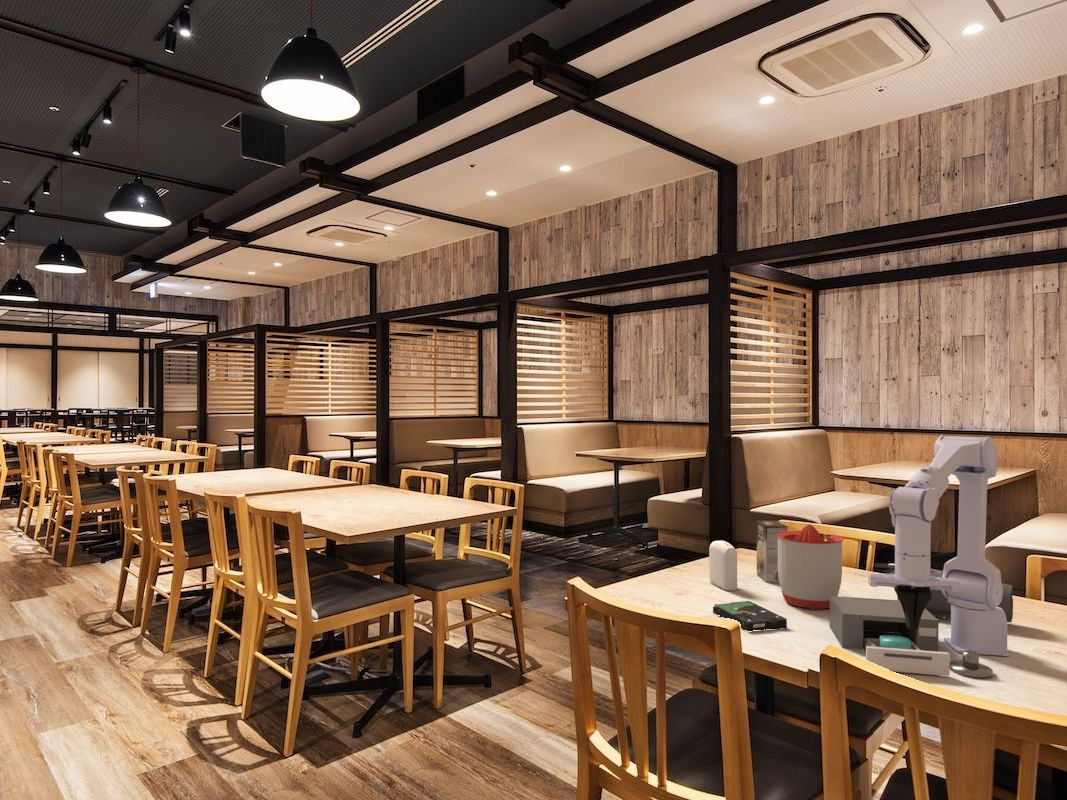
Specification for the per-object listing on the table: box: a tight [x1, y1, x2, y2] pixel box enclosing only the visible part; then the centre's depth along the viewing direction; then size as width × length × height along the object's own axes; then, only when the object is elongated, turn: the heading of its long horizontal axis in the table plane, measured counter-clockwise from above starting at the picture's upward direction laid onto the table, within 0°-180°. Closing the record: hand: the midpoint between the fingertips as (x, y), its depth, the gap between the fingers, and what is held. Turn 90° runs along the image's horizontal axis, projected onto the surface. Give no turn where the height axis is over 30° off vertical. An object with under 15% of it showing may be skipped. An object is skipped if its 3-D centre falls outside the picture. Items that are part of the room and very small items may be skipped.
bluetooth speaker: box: [896, 572, 1014, 623], centre depth 164 cm, size 23×9×10 cm, turn 53°
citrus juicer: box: [777, 523, 844, 611], centre depth 176 cm, size 16×17×20 cm
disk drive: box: [712, 600, 788, 631], centre depth 161 cm, size 10×3×15 cm
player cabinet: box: [829, 596, 940, 652], centre depth 148 cm, size 18×14×7 cm
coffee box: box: [756, 520, 789, 583], centre depth 200 cm, size 9×6×16 cm
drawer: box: [863, 637, 950, 677], centre depth 137 cm, size 14×16×4 cm
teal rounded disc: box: [879, 634, 911, 650], centre depth 137 cm, size 6×6×2 cm
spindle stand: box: [949, 650, 994, 680], centre depth 131 cm, size 7×7×4 cm
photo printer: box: [708, 540, 738, 591], centre depth 191 cm, size 10×4×12 cm, turn 13°
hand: (912, 627), depth 127 cm, fingers closed
